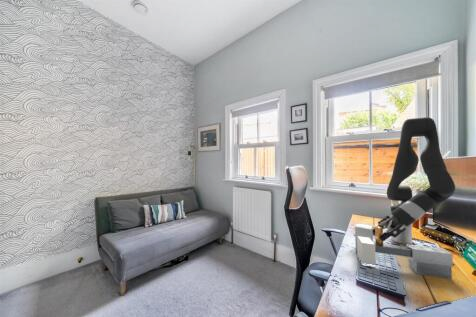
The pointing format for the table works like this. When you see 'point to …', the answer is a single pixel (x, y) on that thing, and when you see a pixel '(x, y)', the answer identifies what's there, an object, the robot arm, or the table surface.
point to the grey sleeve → (431, 261)
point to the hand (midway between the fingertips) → (377, 235)
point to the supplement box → (363, 232)
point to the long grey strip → (389, 246)
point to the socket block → (366, 250)
